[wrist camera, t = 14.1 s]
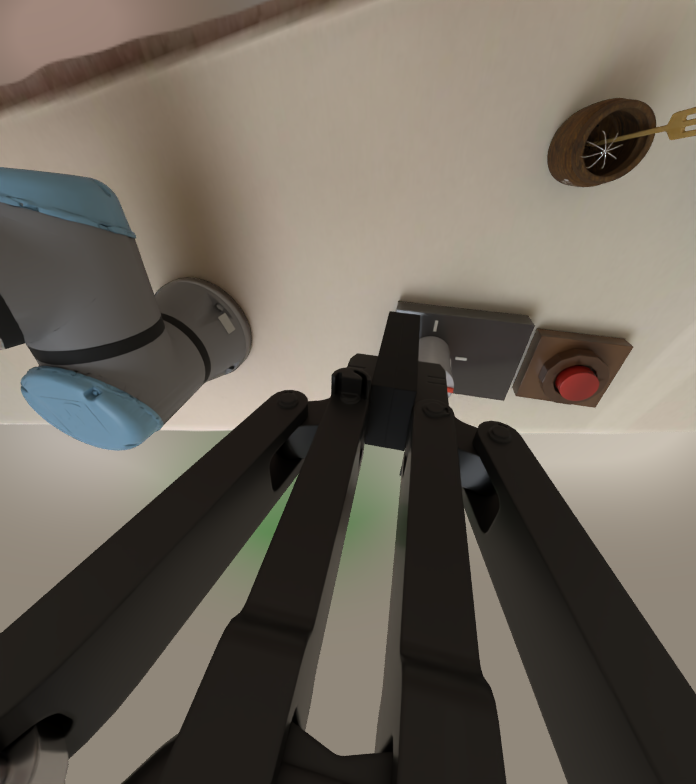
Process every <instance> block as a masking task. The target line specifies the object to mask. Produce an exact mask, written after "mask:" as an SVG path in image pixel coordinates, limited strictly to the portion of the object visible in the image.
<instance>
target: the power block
mask: <svg viewBox="0 0 696 784" xmlns="http://www.w3.org/2000/svg"><path fill="white" fill-rule="evenodd" d="M632 348H633V346H632V345H631V344H630V343H629V342H627V341H626V340H625V339H622V338H614V337H605V336H597V335H588V334H580V333H571V332H562V331H554V330H545V329H536V332H535V334H534V337H533V339H532V341H531V344H530V346H529V349H528V351H527V353H526V356H525V358H524V361H523V363H522V365H521V368H520V370H519V373H518V375H517V377H516V380H515V382H514V385H513V390H514V393H515V395H516V396H519V397H526V398H533V399H540V400H547V401H553V402H556V403H563V404H574V405H581V406H588V407H596V406H597V404H598V402H599V401H600V399H601V398H602V396H603V394H604V393H605V391H606V390H607V388H608V387H609V385H610V383H611V382H612V380H613V379H614V377H615V375H616V374H617V372H618V371H619V369H620V367H621V366H622V364H623V363H624V361H625V360H626V358H627V356H628V355H629V353H630V352H631V350H632ZM572 366H585V367H587V368H589V369H590V370H591V371H592V372H593V373H594V374H595V376H596V377H597V378H598V380H599V387H598V390H597V391H596V392H595V393H594V394H593V395H592V396H591V397H589V398H587V399H584V400H580V401H571V400H567V399H565V398H563V397H562V396H561V394H560V392H559V391H558V389H557V387H556V384H555V381H556V378H557V376H558V375H559V373H560V372H562V371H563V370H564V369H566V368H569V367H572Z"/></svg>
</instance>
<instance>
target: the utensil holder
mask: <svg viewBox="0 0 696 784" xmlns="http://www.w3.org/2000/svg"><path fill="white" fill-rule="evenodd" d="M694 113H696V107H694V108H691V109H687V110H683V111H679V112H676V113H674V114H673V115H672V117H671V119H670V121H669V123H668V124H667V125H665V126H661V127H657V128H656V118H655V115H654V112H653V111H652V109H651V108H650V107H649V106H648V105H647V104H646V103H644V102H641V101H638V100H632V99H624V98H613V99H608V100H604V101H601V102H598V103H595V104H592V105H590V106H587V107H585V108H583V109H581V110H579V111H578V112H576V113H574V114H573V115H572V116H571V117H569V118H568V119H567V120H566V121H565V122H564V123H563V124H562V125H561V127H560V128H559V129H558V131H557V132H556V134H555V135H554V137H553V139H552V141H551V144H550V147H549V151H548V167H549V170H550V173H551V174H552V176H553V177H554V178H555V179H556V180H557V181H559V182H561V183H563V184H566V185H570V186H577V187H592V186H596V185H600V184H603V183H607V182H610V181H613V180H616V179H618V178H620V177H622V176H624V175H625V174H627V173H628V172H630V171H631V170H632V169H633V168H634V167H635V166H637V165H638V163H639V162H640V161H641V160H642V159H643V158H644V156H645V155H646V153H647V152H648V150H649V148H650V147H651V144H652V142H653V139H654V136H655V133H659V132H663V131H666V132H667V134H668V137H669V139H670V140H675V139H680V138H685V137H690V136H695V135H696V130H691V131H685V127H686V126H691V125H695V124H696V119H691V120H687V119H686V118H687V115H690V114H694Z"/></svg>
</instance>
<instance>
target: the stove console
mask: <svg viewBox="0 0 696 784" xmlns="http://www.w3.org/2000/svg"><path fill="white" fill-rule="evenodd" d="M396 312H400V313H408V314H416V315H420V335H419V339H420V338H423V337H427V336H434V337H438V338H440V339H442V340H444V341H445V342H446V343H447V344H448V346H449V348H450V354H451V362H452V371H453V380H454V390H453V393H455V394H462V395H469V396H476V397H482V398H489V399H496V400H503V401H504V399H505V397H506V394H507V392H508V389H509V387H510V385H511V382H512V380H513V377H514V375H515V372H516V370H517V367H518V365H519V363H520V360H521V358H522V355H523V353H524V350H525V348H526V346H527V343H528V341H529V338H530V336H531V333H532V331H533V328H534V326H535V325H534V323H533V322H532V320H531V319H530V317H529V316H527V315H518V314H509V313H500V312H491V311H482V310H473V309H464V308H455V307H446V306H438V305H429V304H420V303H411V302H402V301H398V306H397V310H396Z"/></svg>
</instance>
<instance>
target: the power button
mask: <svg viewBox="0 0 696 784" xmlns="http://www.w3.org/2000/svg"><path fill="white" fill-rule="evenodd" d="M555 384H556V387H557V389H558V391H559V392H560V394H561V396H562V397H563V398H565V399H567V400H571V401H580V400H584V399H587V398H589V397H591V396H592V395H593V394H594V393H595V392H596V391H597V390H598V387H599V380H598V378H597V377H596V376H595V374H594V373H593V372H592V371H591V370H590V369H589V368H587V367H585V366H572V367H569V368H566V369H564V370H563V371H562V372H560V373H559V375H558V376H557V378H556V381H555Z"/></svg>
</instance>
